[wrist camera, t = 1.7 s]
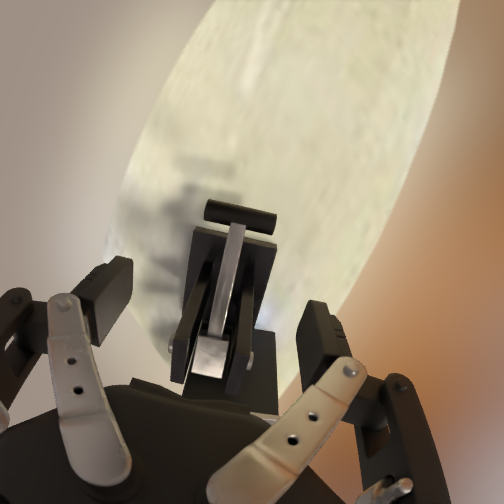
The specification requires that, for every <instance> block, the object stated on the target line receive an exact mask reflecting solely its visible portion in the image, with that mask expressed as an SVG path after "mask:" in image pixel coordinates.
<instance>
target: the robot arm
mask: <svg viewBox="0 0 504 504" xmlns="http://www.w3.org/2000/svg"><path fill="white" fill-rule="evenodd" d="M132 290H133V260H132V259H129V258H125V257H122V256H115V257H114V258H113V259H112V260H111V261H110V262H109V263H108V264H106V263H104V264H101V265H100V266H97V267H95V268H94V269H93V270H92V271H91V272H90V274H88V275H87V276H86V277H85V279H83V280H82V281H81V282H80V283H79V284H78V285H77V286H76V287H75V288H74V289H73V290H72V291H71V292H70V293H60V294H56V295H54V296H52V297H51V298H50V299H49V300H48V302H41V301H32V296H31V293H30V291H29V290H27V289H25V288H13V289H11V290H8V291H7V292H6V293H5V294H4V295H3V296H2V297H1V298H0V504H346V503H345V502H344V501H342V500H341V499H340V498H339V497H338V496H337V495H336V494H335V493H334V492H333V491H332V490H331V489H330V488H329V487H328V486H327V484H325V482H324V481H323V480H322V479H321V478H320V477H319V476H318V475H317V474H316V473H315V472H314V471H313V470H312V469H311V468H310V467H309V466H308V464H309V462H310V461H311V460H312V459H313V458H314V456H315V455H316V454H317V452H318V451H319V449H321V447H322V446H323V445H324V443H325V442H326V440H327V439H328V438H329V436H330V435H331V434H332V432H333V431H334V429H335V428H336V426H337V425H338V424H339V422H340V421H344V422H347V423H351V424H354V428H355V435H356V441H357V448H358V455H359V462H360V469H361V477H362V485H363V492H362V493H361V494H360V495H359V496H358V497H357V499H356V501H355V504H451V501H450V496H449V492H448V488H447V484H446V481H445V477H444V473H443V470H442V466H441V463H440V460H439V456H438V453H437V450H436V447H435V443H434V440H433V438H432V434H431V431H430V428H429V425H428V423H427V420H426V417H425V414H424V412H423V409H422V406H421V404H420V401H419V398H418V395H417V393H416V390H415V388H414V385H413V384H412V382H411V381H410V380H409V379H408V378H407V377H405V376H404V375H401V374H398V373H391V374H389V375H388V376H387V377H386V379H385V380H381V379H378V378H375V377H372V376H369V375H367V370H366V368H365V366H364V365H363V364H362V363H361V362H360V361H358V360H356V359H354V358H353V357H352V354H351V351H350V348H349V345H348V342H347V339H346V336H345V333H344V332H343V327H342V325H341V322H340V321H339V320H338V319H337V318H336V317H335V315H330V313H329V310H328V307H327V304H326V303H324V302H319V301H314V300H309V301H308V303H307V305H306V308H305V310H304V313H303V315H302V318H301V320H300V323H299V325H298V328H297V332H296V344H297V352H298V360H299V367H300V375H301V383H302V392H303V394H302V395H301V396H300V398H299V399H298V400H297V401H296V402H295V403H294V404H293V405H292V406H291V407H290V408H289V409H288V410H287V411H286V412H285V413H284V414H283V415H282V416H281V417H280V418H279V419H278V420H277V421H276V422H275V423H274V424H273V425H271V424H269V423H268V422H267V421H265V420H264V419H262V418H260V417H258V416H256V415H254V414H251V413H250V406H251V405H249V404H243V403H237V402H231V401H226V400H194V399H187V398H185V397H183V396H181V395H179V394H177V393H174V392H172V391H170V390H168V389H166V388H164V387H162V386H160V385H157V384H153V383H150V382H146V381H143V380H140V379H136V378H132V380H131V382H130V385H112V386H108V387H103V386H102V382H101V379H100V376H99V373H98V369H97V366H96V362H95V359H94V356H93V352H92V348H91V344H92V345H94V346H97V347H100V346H101V344H102V342H103V341H104V339H105V337H106V336H107V334H108V333H109V331H110V330H111V328H112V327H113V325H114V323H115V322H116V321H117V319H118V317H119V316H120V314H121V313H122V311H123V310H124V308H125V307H126V305H127V304H128V303H129V301H130V299H131V295H132ZM12 335H13V337H14V340H13V341H12V343H11V344H10V345H9V346H8V348H7V349H6V350H5V346H6V343H7V342H8V341H9V339H10V338H11V337H12ZM42 353H44V354H48V356H49V364H50V370H51V378H52V384H53V390H54V396H55V400H56V406H57V408H55V409H53V410H50V411H48V412H46V413H43V414H41V415H39V416H36V417H34V418H31V419H29V420H26V421H24V422H21V423H19V424H16V425H14V426H11V427H9V428H8V425H9V421H10V417H9V413H8V410H9V408H10V406H11V404H12V402H13V400H14V399H15V397H16V395H17V394H18V392H19V390H20V388H21V387H22V385H23V383H24V382H25V380H26V378H27V377H28V375H29V374H30V372H31V370H32V369H33V367H34V366H35V364H36V363H37V361H38V359H39V358H40V356H41V355H42ZM387 424H388V425H387ZM388 426H389V429H388ZM389 430H390V433H389Z"/></svg>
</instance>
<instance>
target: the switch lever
mask: <svg viewBox="0 0 504 504" xmlns="http://www.w3.org/2000/svg"><path fill="white" fill-rule="evenodd" d="M204 220H205V221H210V222H214V223H219V224H223V225H228V226H230V228H229V233H228V237H227V241H226V246H225V250H224V255H223V259H222V264H221V268H220V273H219V277H218V282H217V287H216V291H215V296H214V301H213V306H212V310H211V315H210V320H209V325H208V330H205V329H201V330H200V332H199V334H198V336H197V341H196V347H195V352H194V357H193V362H192V368H191V372H192V373H196V374H201V375H205V376H210V377H215V378H220V379H221V378H222V375H223V371H224V366H225V361H226V357H227V352H228V347H229V335H227V334H223V331H224V326H225V321H226V317H227V312H228V307H229V303H230V298H231V293H232V289H233V284H234V280H235V275H236V270H237V266H238V261H239V257H240V252H241V248H242V243H243V239H244V234H245V230H250V231H255V232H259V233H263V234H268V235H272V234H273V232H274V229H275V225H276V220H277V214H274V213H269V212H265V211H261V210H256V209H252V208H248V207H243V206H239V205H234V204H230V203H225V202H221V201H216V200H211V199H208V201H207V203H206V207H205V211H204Z"/></svg>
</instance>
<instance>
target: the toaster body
mask: <svg viewBox="0 0 504 504" xmlns="http://www.w3.org/2000/svg"><path fill="white" fill-rule="evenodd" d="M208 325H209V321H205V320H203V321H202V324H201V328H200V330H201V329H205V330H208ZM232 330H233V327H232V326H228V325H225V326H224V331H223V334H227V335H229V347H228V352H227V357H226V361H225V366H224V371H223V375H222V378H221V379H220V378H215V377H210V376H205V375H201V374H196V373H192V372H191V368H192V362H193V357H194V353H193V356H192V360H191V363H190V367H189V371H188V374H187V378H186V382H185V386H184V390H183V394H182V396H183V397H185V398H187V399H194V400H226V401H231V402H237V403H243V404H249V405H251V406H250V413H251V414H254V415H256V416H258V417H260V418H262V419H264V420H265V421H267V422H268V423H269V424H271V425H273V424H274V423H275V422H276V421H277V420H278V419H279V415H278V414H279V413H278V387H277V363H276V342H275V333H273V332H267V331H262V330H257V329H254V330H253V331H252V336H251V352H253V354H254V355H253V363H252V367H251V369H250V370H246V371H245V374H244V377H243V380H242V383H241V386H240V389H239V392H238V395H237V396H235V395H230V394H225V393H224V389H225V381H226V374H227V367H228V359H229V352H230V345H231V337H232ZM199 332H200V331H199ZM195 347H196V345H195ZM194 352H195V349H194Z"/></svg>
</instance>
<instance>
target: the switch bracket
mask: <svg viewBox="0 0 504 504" xmlns="http://www.w3.org/2000/svg"><path fill="white" fill-rule="evenodd" d="M227 237H228V233H223V232H219V231H214V230H210V229H205V228H201V227H196V228H195V229H194V231H193V237H192V243H191V250H190V256H189V263H188V270H187V278H186V285H185V293H184V301H183V309H182V318H181V320H180V323H179V325H178V328H177V331H176V333H175V335H172V336H171V339H170V342H169V347H168V352H169V353H171V354H172V361H171V376H170V381H171V382H175V383H179V384H183V383H184V380H185V376H186V373H187V369H188V366H189V362H190V358H191V355H192V351H193V348H194V344H195V341H196V337H197V334H198V330H199V327H200V323H201V320H205V321H209V320H210V315H211V310H212V306H213V301H214V296H215V291H216V287H217V282H218V277H219V273H220V268H221V264H222V259H223V255H224V250H225V246H226V241H227ZM276 252H277V245H276V244H272V243H268V242H263V241H259V240H254V239H250V238H246V237H244V239H243V243H242V248H241V252H240V257H239V261H238V266H237V270H236V275H235V280H234V284H233V289H232V293H231V298H230V303H229V307H228V312H227V317H226V321H225V325H228V326H232V327H233V330H232V337H231V345H230V352H229V359H228V367H227V374H226V381H225V389H224V393H225V394H230V395H235V396H237V395H238V392H239V389H240V386H241V383H242V380H243V377H244V374H245V371H246V370H250V369H251V367H252V363H253V355H254V354H253V352H251V336H252V331H253V330H254V327H255V323H256V320H257V317H258V313H259V310H260V307H261V303H262V300H263V297H264V293H265V290H266V287H267V283H268V280H269V276H270V273H271V270H272V266H273V263H274V259H275V256H276Z"/></svg>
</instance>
